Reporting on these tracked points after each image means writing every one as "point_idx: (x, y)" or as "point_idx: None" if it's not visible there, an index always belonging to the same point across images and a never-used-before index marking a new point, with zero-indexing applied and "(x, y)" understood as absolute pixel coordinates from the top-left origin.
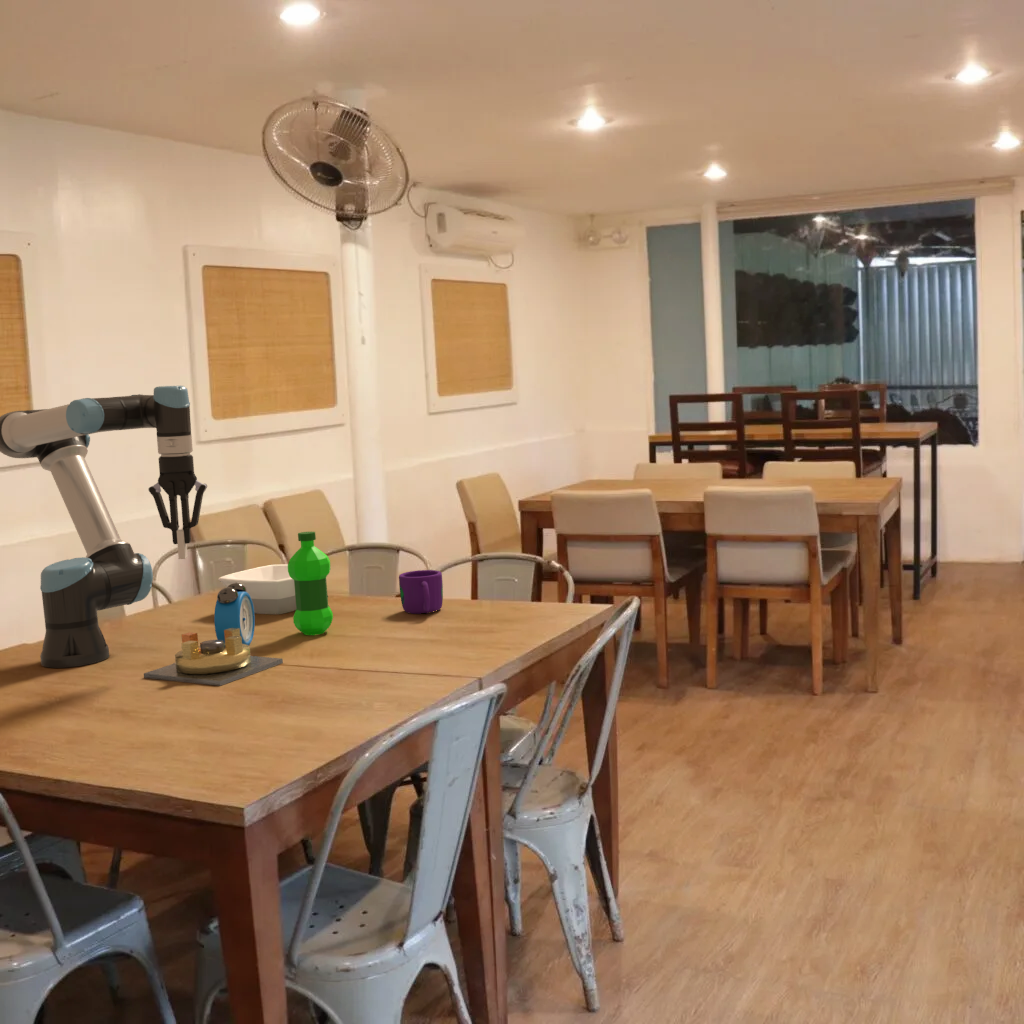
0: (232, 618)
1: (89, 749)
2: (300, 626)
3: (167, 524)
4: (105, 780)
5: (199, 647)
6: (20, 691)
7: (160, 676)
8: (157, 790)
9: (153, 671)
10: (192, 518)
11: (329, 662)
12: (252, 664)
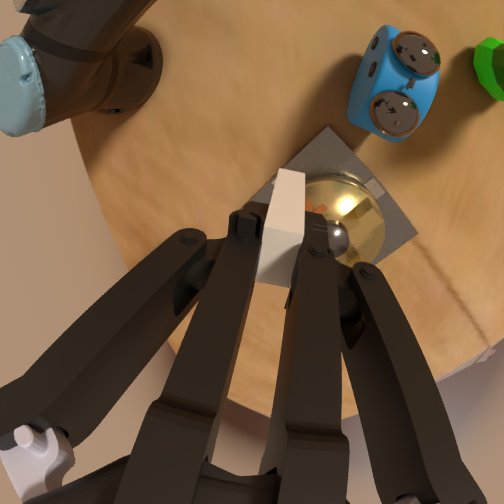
0: (385, 138)
1: None
2: (480, 82)
3: (199, 294)
4: (246, 404)
5: (313, 198)
6: (110, 209)
7: None
8: (270, 416)
9: None
10: (343, 344)
11: (455, 256)
12: None
